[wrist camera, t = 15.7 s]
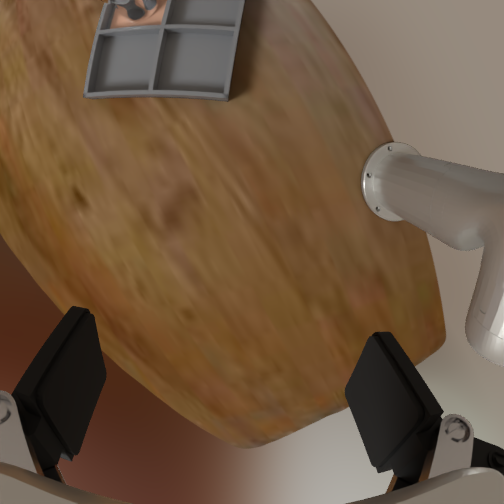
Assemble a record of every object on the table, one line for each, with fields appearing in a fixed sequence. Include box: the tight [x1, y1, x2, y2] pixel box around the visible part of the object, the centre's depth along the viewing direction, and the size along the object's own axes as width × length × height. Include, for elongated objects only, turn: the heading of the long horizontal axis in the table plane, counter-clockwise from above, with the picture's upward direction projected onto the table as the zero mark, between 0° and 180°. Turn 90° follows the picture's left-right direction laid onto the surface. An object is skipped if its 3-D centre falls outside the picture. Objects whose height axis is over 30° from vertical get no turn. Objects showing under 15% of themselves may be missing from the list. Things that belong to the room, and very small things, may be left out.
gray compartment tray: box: [83, 0, 245, 101], centre depth 29 cm, size 20×20×3 cm
